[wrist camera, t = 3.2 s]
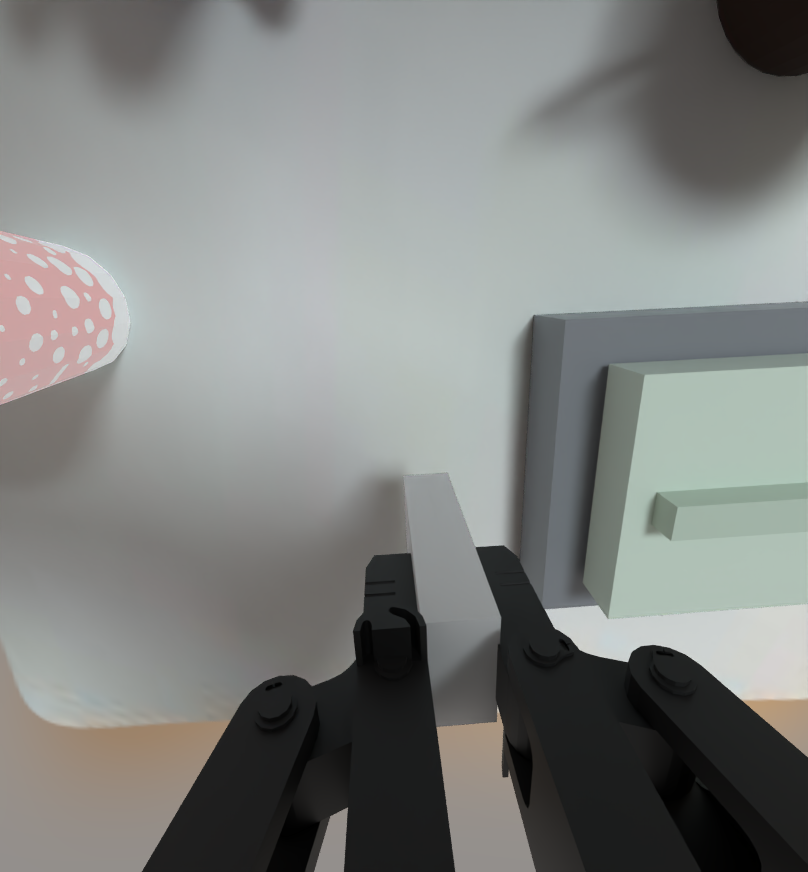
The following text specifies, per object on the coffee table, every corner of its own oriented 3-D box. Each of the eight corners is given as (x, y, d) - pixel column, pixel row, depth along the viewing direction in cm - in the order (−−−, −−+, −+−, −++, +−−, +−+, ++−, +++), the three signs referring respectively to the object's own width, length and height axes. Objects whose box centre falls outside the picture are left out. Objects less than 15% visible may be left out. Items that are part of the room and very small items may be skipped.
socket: (534, 315, 16) (565, 319, 14) (821, 300, 17) (910, 302, 14) (519, 565, 20) (541, 609, 18) (752, 549, 21) (811, 589, 18)
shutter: (609, 364, 14) (666, 382, 11) (863, 350, 14) (983, 364, 11) (582, 582, 17) (623, 641, 14) (793, 567, 17) (875, 621, 14)
